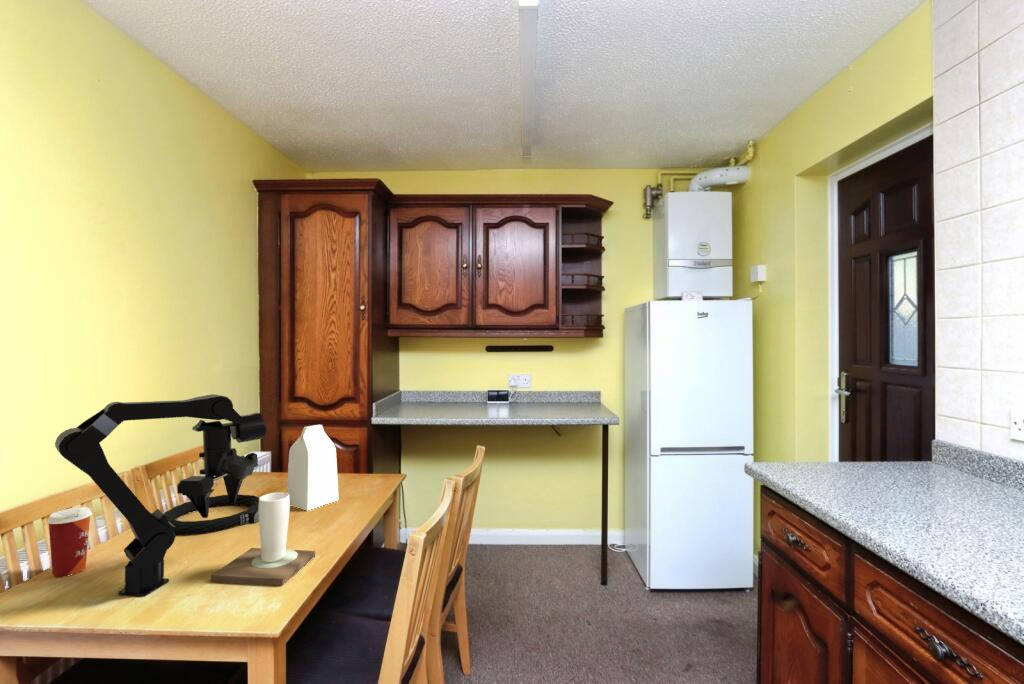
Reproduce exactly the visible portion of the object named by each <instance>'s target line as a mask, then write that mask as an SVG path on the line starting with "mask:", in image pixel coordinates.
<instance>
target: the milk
mask: <svg viewBox="0 0 1024 684" xmlns="http://www.w3.org/2000/svg"><path fill="white" fill-rule="evenodd" d="M337 461H338V460H337V448H336V445H335V444H334V442H333V441H332V439H331V438H330V437H329V436H328V435H327V433H326V432H325V430H324V426H323V424H314V425H309V426H304V427H303V429H302V431H301V434H300V436H299V437H298V438H297V439H296V441H294V443H293V444H291V446H290V447H289V451H288V466H287V483H286V484H287V485H286V493H288V494H289V499H290V505H292V506H295V507H298V508H301V509H304V510H306V511H305V512H309V511H308V510H310V511H312V510H311V509H313V510H315V509H314V508H316V509H318V508H317V507H319V508H321V507H320V506H322V507H324V506H323V505H325V504H328V505H330V504H329V503H331V504H333V503H332V502H334V503H336V502H335V501H337V502H339V501H340V496H339V495H340V494H339V480H338V479H339V478H338V477H339V476H338V462H337ZM338 500H339V501H338ZM325 506H326V505H325ZM295 507H294V508H295ZM298 508H297V509H298ZM301 509H300V510H301ZM304 510H303V511H304Z"/></svg>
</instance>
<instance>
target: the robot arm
mask: <svg viewBox="0 0 1024 684" xmlns="http://www.w3.org/2000/svg"><path fill="white" fill-rule="evenodd" d="M262 415H263V414H262V413H261V412H254V413H250V414H245V415H244V414H243V415H241V414H239V413H238V412H237V411H236V410H235V409H234V404H233V401H232V400H231V399H230V398H229V397H227V396H224V395H221V394H220V395H219V394H214V393H211V394H207V395H201V396H200V395H199V396H196V397H192V398H188V399H183V400H181V399H178V400H157V401H156V400H155V401H132V402H131V401H129V402H128V401H127V402H121V401H113V402H109V403H107V405H106V406H105V407H103V408H102V409H101V410H99V411H98V412H97V413H95V414H94V415H92V416H91V417H89V418H87V419H86V420H84V421H83V422H81V423H80V424H79V425H78V426H76V427H72V428H68V429H66V430H64V431H63V432H61V433H60V434H59V435H58V436H57V437H56V439H55V442H54V445H55V446H54V447H55V448H56V450H57V452H58V453H59V454H60V456H62V457H63V458H64V459H65V460H66V461H68V462H69V463H71V464H72V465H74V466H75V467H76V468H77V469H79V470H80V471H81V472H83V473H85V474H86V475H87V476H89V477H90V479H92V481H93V482H94V483H95V484H96V486H97V487H98V489H100V490H101V491H102V492H103V494H104V495H105V496H106V497H107V499H108V500H109V501H111V503H112V504H113V505H114V507H115V508H117V510H118V511H119V512H120V514H122V516H123V517H124V518H125V519H126V521H127V522H128V525H129V527H130V529H131V531H132V533H133V535H134V539H133V540H131V542H130V543H129V544H127V545H126V546H125V548H124V549H123V552H124V555H125V556H126V558H127V559H128V560H129V561H128V562H127V564H126V565H124V588H122V589H121V590H119V591H117V595H124V596H140V597H144V596H147V595H148V594H151V593H153V592H154V591H155V590H157V589H159V588H160V587H162V586H163V585H165V584H167V583H169V582H170V578H167V577H166V578H165V574H164V573H165V559H164V558H165V556H166V553H167V552H168V550H169V549H170V548H171V547H172V545H173V544H174V542H175V539H176V534H175V533H174V531H173V530H172V529H175V528H176V527H175V526H173V525H172V524H171V523H170V522H169V521H168V520H167V518H166V516H165V515H164V512H162V511H161V510H160V509H159V508H157V509H155V510H154V511H153V512H151V511H150V510H148V509H147V507H145V505H144V504H143V503H142V501H140V499H139V498H138V497H137V496H136V495H135V493H134V492H133V491H132V490H131V488H130V487H129V486H128V485H127V484H126V483H125V481H124V480H123V479H122V478H121V477H120V476H119V473H117V472H116V470H115V469H114V468H113V467H112V466H111V464H110V463H109V461H108V459H107V456H106V454H105V452H104V449H103V448H102V446H101V443H102V442H103V441H104V440H105V439H106V438H107V437H109V436H110V434H111V433H112V432H113V431H115V429H116V428H117V427H118V426H119V425H121V424H122V423H123V422H125V421H139V420H142V421H143V420H155V419H156V420H158V419H174V418H194V419H199V421H198V422H197V423H196V424H194V426H192V431H195V432H202V437H203V438H202V441H203V443H202V445H203V451H201V452H199V453H198V456H199V457H198V458H203V468H202V469H200V470H199V475H191V476H189V477H185V478H184V479H182V480H180V481H179V482H178V483H177V484H176V490H177V493H176V494H180V495H181V496H186V497H187V499H188V500H189V502H192V503H193V504H194V506H195V507H196V509H197V512H198V514H199V515H200V517H202V519H208V518H209V512H210V510H209V509H210V508H209V497H211V495H212V494H213V492H214V491H215V489H214V488H213V487H214V485H215V481H218V480H220V479H223V483H224V486H225V490H226V493H227V494H226V495H228V498H229V501H230V503H235V502H236V499H237V496H238V494H240V493H239V492H240V490H241V486H242V483H243V481H244V480H245V479H246V478H247V477H248V476H252V475H253V473H254V471H255V468H257V467H259V464H258V462H259V459H258V453H255V452H250V453H248V454H247V453H246V455H238V452H237V451H238V450H237V449H236V448H235V447H234V448H233V447H232V440H235V441H236V442H237V443H239V444H240V443H241V444H242V443H245V442H251V441H257V440H261V439H262V440H263V439H265V437H266V434H267V433H266V432H267V427H266V425H265V421H264V419H263V416H262ZM202 419H204V420H202ZM206 420H212V421H207V422H206ZM213 420H214V421H213ZM221 420H225V421H228V422H226V423H222V422H221Z"/></svg>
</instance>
